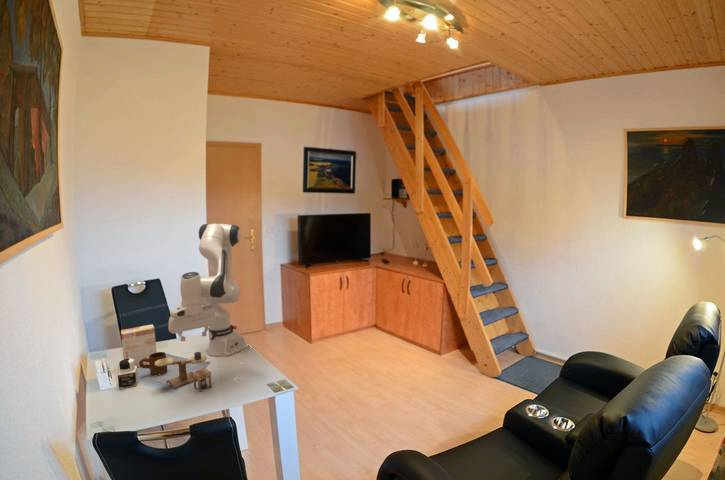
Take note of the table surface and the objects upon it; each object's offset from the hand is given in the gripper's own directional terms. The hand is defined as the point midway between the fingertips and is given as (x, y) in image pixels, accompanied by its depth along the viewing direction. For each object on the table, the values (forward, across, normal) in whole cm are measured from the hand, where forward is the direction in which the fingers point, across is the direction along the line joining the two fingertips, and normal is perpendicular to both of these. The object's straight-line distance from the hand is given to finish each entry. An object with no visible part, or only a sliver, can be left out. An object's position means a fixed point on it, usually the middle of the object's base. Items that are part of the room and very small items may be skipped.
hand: (193, 338), depth 181 cm
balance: (+23, +3, -10) cm, 25 cm away
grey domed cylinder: (+23, -2, +3) cm, 23 cm away
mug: (+23, +11, -28) cm, 38 cm away
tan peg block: (+23, -2, +3) cm, 23 cm away
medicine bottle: (+23, +22, -25) cm, 41 cm away
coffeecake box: (+23, +13, -45) cm, 52 cm away
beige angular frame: (+23, -20, +2) cm, 31 cm away
